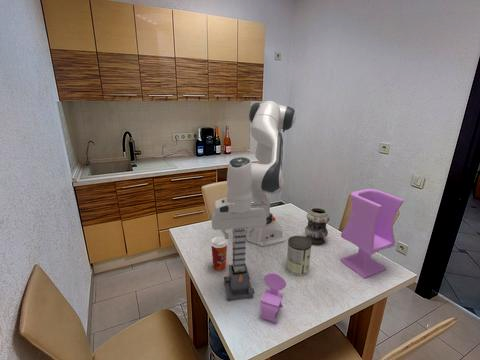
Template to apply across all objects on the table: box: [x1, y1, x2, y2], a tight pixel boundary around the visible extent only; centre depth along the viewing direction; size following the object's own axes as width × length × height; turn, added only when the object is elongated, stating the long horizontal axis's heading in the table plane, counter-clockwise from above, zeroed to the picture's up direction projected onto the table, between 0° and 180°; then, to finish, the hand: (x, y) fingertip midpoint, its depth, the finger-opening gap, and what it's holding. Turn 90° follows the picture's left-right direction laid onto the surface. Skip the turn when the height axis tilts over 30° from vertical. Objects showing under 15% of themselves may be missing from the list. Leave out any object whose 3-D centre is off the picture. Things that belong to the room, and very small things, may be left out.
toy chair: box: [259, 272, 287, 324], centre depth 91 cm, size 8×9×15 cm
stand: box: [223, 262, 256, 302], centre depth 102 cm, size 11×11×10 cm
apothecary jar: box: [304, 206, 330, 246], centre depth 137 cm, size 12×12×18 cm
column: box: [232, 228, 247, 273], centre depth 98 cm, size 4×4×18 cm
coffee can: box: [285, 235, 313, 277], centre depth 115 cm, size 10×10×14 cm
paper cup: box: [210, 236, 229, 272], centre depth 115 cm, size 8×8×14 cm
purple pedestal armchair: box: [339, 188, 405, 279], centre depth 114 cm, size 16×16×35 cm
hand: (239, 237), depth 96 cm, fingers open, 8 cm apart
